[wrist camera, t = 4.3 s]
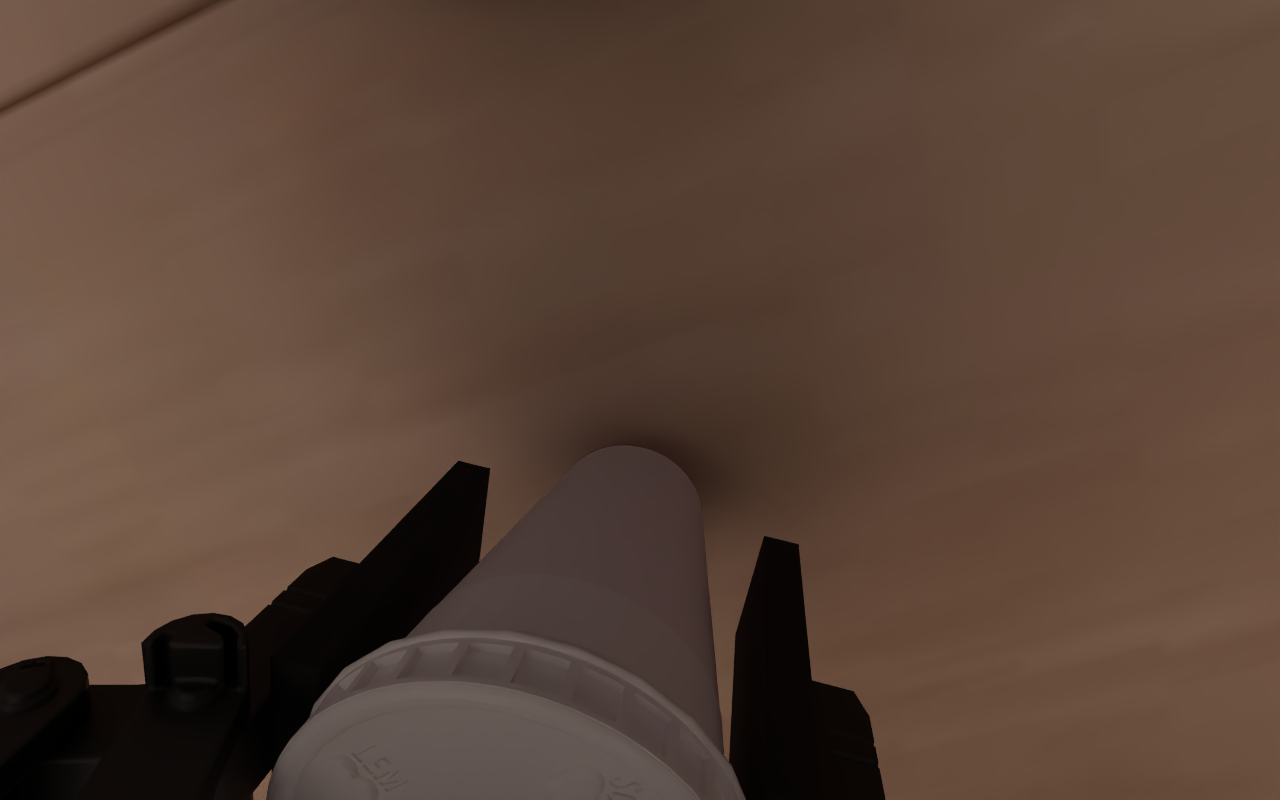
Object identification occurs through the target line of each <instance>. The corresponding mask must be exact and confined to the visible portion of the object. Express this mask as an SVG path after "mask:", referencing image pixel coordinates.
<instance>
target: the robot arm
mask: <svg viewBox="0 0 1280 800" xmlns="http://www.w3.org/2000/svg"><path fill="white" fill-rule="evenodd" d="M489 473H490V468H486V467H482V466H478V465H473V464H469V463H465V462H461V461H458V462H457V463H456V464H455V465H454V466H453V467H452V468H451V469H450V470H449V471H448V472H447V473H446V474H445V475H444V476H443V477H442V478H441V479H440V480H439V481H438V482H437V484H436V485H435V486H434V487H433V488H432V489H431V490H430V491H429V492H428V493H427V494H426V495H425V496H424V497H423V498H422V499H421V500H420V501H419V502H418V503H417V504H416V505H415V506H414V507H413V508H412V509H411V511H410V512H409V513H408V514H407V515H406V516H405V517H404V518H403V519H402V520H401V521H400V522H399V523H398V524H397V525H396V526H395V527H394V528H393V529H392V530H391V531H390V532H389V533H388V534H387V535H386V536H385V538H384V539H383V540H382V541H381V542H380V543H379V544H378V545H377V546H376V547H375V548H374V549H373V550H372V551H371V552H370V553H369V554H368V555H367V556H366V557H365V558H364V559H363V560H362V561H361V562H360V563H355V562H351V561H347V560H343V559H340V558H336V557H331V558H329V559H327V560H325V561H323V562H321V563H319V564H317V565H315V566H313V567H310V568H308V569H306V570H305V571H304V572H303V573H302V574H301V575H300V576H299V577H298V578H297V579H296V580H295V581H294V582H292V583H291V584H290V585H289V586H288V588H287V590H286V591H285V590H284V591H283V592H282V593H281V594H280V595H278V596H277V597H276V598H275V599H274V600H273V601H272V604H271V605H268V606H267V607H266V608H264V609H263V610H262V611H261V612H260V613H259V614H258V615H257V616H256V617H255V618H254V619H253V620H252V621H251V622H249V623H248V624H247V625H246V626H244V624H243V623H242V622H240V621H238V620H237V619H235V618H233V617H231V616H227V615H222V614H216V613H208V614H195V615H190V616H187V617H183V618H180V619H176V620H173V621H171V622H169V623H167V624H165V625H163V626H162V627H160V628H158V629H156V630H154V631H153V632H152V633H151V634H150V635H149V636H148V637H147V638H146V639H145V640H144V641H143V642H142V643H141V644H142V653H143V663H144V673H145V683H146V684H141V685H89V679H88V673H87V671H86V670H85V668H84V666H83V665H82V663H80V662H78V661H75V660H73V659H71V658H68V657H55V656H45V657H40V658H34V659H28V660H23V661H21V662H18V663H15V664H12V665H10V666H7V667H4V668H1V669H0V800H253V792H254V791H255V789H256V788H257V787H258V786H259V784H260V783H261V782H262V780H263V779H264V778H265V777H266V775H267V774H268V773H269V772H270V770H271V769H272V772H273V769H274V767H275V765H276V763H277V761H278V758H279V756H280V754H281V753H282V751H283V750H284V748H285V747H286V745H287V744H288V742H289V741H290V740H291V738H292V737H293V736H294V735H295V734H296V732H297V731H298V730H299V729H300V728H301V727H302V726H303V725H304V723H305V722H306V721H307V720H308V719H309V717H310V714H311V711H312V708H313V706H314V703H315V702H316V701H317V700H318V699H319V697H320V696H321V695H322V694H323V693H324V692H325V690H326V689H327V688H328V687H329V686H330V684H331V683H332V682H333V681H334V680H335V679H336V677H337V676H338V675H339V674H340V673H341V671H342V670H343V669H344V668H345V667H347V666H348V665H350V664H352V663H354V662H355V661H357V660H359V659H361V658H362V657H364V656H366V655H367V654H369V653H371V652H373V651H374V650H376V649H378V648H380V647H381V646H383V645H385V644H386V643H388V642H390V641H394V640H399V639H403V638H406V637H407V636H408V634H409V633H410V632H411V631H412V630H413V629H414V628H415V627H416V626H417V625H418V624H419V623H420V622H421V621H422V620H423V618H424V617H425V616H426V615H427V614H428V613H429V612H430V611H431V610H432V609H433V608H434V607H435V606H437V605H438V604H439V603H440V602H441V601H442V600H443V599H444V598H445V597H446V596H447V595H448V594H449V593H450V592H451V591H452V590H453V589H454V588H455V587H456V586H457V585H458V584H459V583H460V582H461V581H462V580H463V578H464V577H465V576H466V575H467V574H468V573H469V572H470V571H471V570H472V569H473V568H474V567H475V566H476V565H477V564H478V563H479V559H480V551H481V542H482V533H483V525H484V516H485V508H486V499H487V491H488V482H489ZM729 763H730V764H731V765H732V767H733V770H734V772H735V775H736V777H737V779H738V782H739V784H740V787H741V789H742V791H743V794H744V796H745V799H746V800H885V795H884V789H883V784H882V779H881V774H880V769H879V768H878V758H877V753H876V748H875V747H874V738H873V732H872V727H871V722H870V717H869V715H868V713H867V712H866V710H865V709H864V707H863V705H862V704H861V702H860V701H859V699H858V698H857V696H856V694H855V693H854V691H850V690H846V689H842V688H839V687H835V686H831V685H827V684H823V683H820V682H816V681H812V678H811V668H810V658H809V648H808V637H807V627H806V617H805V606H804V596H803V586H802V576H801V565H800V555H799V545H798V544H795V543H791V542H787V541H783V540H779V539H775V538H771V537H767V536H764V538H763V542H762V545H761V549H760V552H759V556H758V559H757V562H756V566H755V569H754V573H753V576H752V580H751V583H750V587H749V590H748V593H747V597H746V600H745V604H744V607H743V611H742V614H741V617H740V621H739V624H738V628H737V631H736V635H735V655H734V675H733V695H732V715H731V735H730V755H729Z"/></svg>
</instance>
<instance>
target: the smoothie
mask: <svg viewBox="0 0 1280 800" xmlns="http://www.w3.org/2000/svg"><path fill="white" fill-rule="evenodd" d="M266 800H746V799H745V796H744V794H743V791H742V789H741V787H740V784H739V782H738V779H737V777H736V775H735V772H734V770H733V767H732V765H731V764H730V763H729V761H728V760H727V759H726V758H725V756H724V748H723V734H722V719H721V713H720V707H719V696H718V685H717V674H716V663H715V652H714V640H713V629H712V618H711V607H710V596H709V585H708V574H707V563H706V552H705V541H704V530H703V519H702V508H701V503H700V499H699V496H698V493H697V491H696V489H695V487H694V485H693V483H692V482H691V480H690V479H689V477H688V476H687V475H686V474H685V472H684V471H683V470H682V469H681V468H680V467H679V466H677V465H676V464H675V463H674V462H672V461H671V460H670V459H668V458H666V457H665V456H663V455H661V454H659V453H657V452H655V451H652V450H649V449H646V448H642V447H636V446H627V445H621V446H611V447H606V448H602V449H599V450H597V451H594V452H592V453H590V454H588V455H586V456H585V457H583V458H582V459H581V460H579V461H578V462H577V463H576V464H575V465H574V466H573V467H572V468H571V469H570V470H569V471H568V472H567V473H566V474H565V475H564V476H563V477H562V478H561V479H560V480H559V481H558V482H557V483H556V484H555V485H554V486H553V488H552V489H551V490H550V491H549V492H548V493H547V494H546V495H545V496H544V497H543V498H542V499H541V500H540V501H539V502H538V503H537V504H536V505H535V506H534V507H533V508H532V509H531V510H530V511H529V512H528V513H527V514H526V515H525V516H524V517H523V518H522V519H521V520H520V521H519V522H518V523H517V524H516V525H515V526H514V527H513V528H512V529H511V530H510V531H509V532H508V534H507V535H506V536H505V537H504V538H503V539H502V540H501V541H500V542H499V543H498V544H497V545H496V546H495V547H494V548H493V549H492V550H491V551H490V552H489V553H488V554H487V555H486V556H485V557H484V558H483V559H482V560H481V561H480V562H479V563H478V564H477V565H476V566H475V567H474V568H473V569H472V570H471V571H470V572H469V573H468V574H467V575H466V576H465V577H464V578H463V580H462V581H461V582H460V583H459V584H458V585H457V586H456V587H455V588H454V589H453V590H452V591H451V592H450V593H449V594H448V595H447V596H446V597H445V598H444V599H443V600H442V601H441V602H440V603H439V604H438V605H437V606H435V607H434V608H433V609H432V610H431V611H430V612H429V613H428V614H427V615H426V616H425V617H424V618H423V620H422V621H421V622H420V623H419V624H418V625H417V626H416V627H415V628H414V629H413V630H412V631H411V632H410V633H409V634H408V636H407V637H406V638H403V639H399V640H394V641H390V642H388V643H386V644H385V645H383V646H381V647H380V648H378V649H376V650H374V651H373V652H371V653H369V654H367V655H366V656H364V657H362V658H361V659H359V660H357V661H355V662H354V663H352V664H350V665H348V666H347V667H345V668H344V669H343V670H342V671H341V673H340V674H339V675H338V676H337V677H336V679H335V680H334V681H333V682H332V683H331V684H330V686H329V687H328V688H327V689H326V690H325V692H324V693H323V694H322V695H321V696H320V697H319V699H318V700H317V701H316V702H315V703H314V706H313V708H312V711H311V714H310V717H309V719H308V720H307V721H306V722H305V723H304V725H303V726H302V727H301V728H300V729H299V730H298V731H297V732H296V734H295V735H294V736H293V737H292V738H291V740H290V741H289V742H288V744H287V745H286V747H285V748H284V750H283V751H282V753H281V754H280V756H279V758H278V761H277V763H276V765H275V767H274V769H273V772H272V775H271V778H270V782H269V785H268V791H267V798H266Z"/></svg>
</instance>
